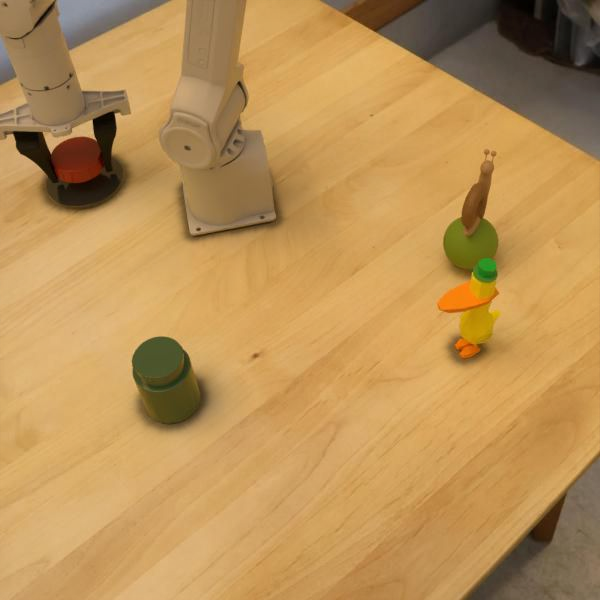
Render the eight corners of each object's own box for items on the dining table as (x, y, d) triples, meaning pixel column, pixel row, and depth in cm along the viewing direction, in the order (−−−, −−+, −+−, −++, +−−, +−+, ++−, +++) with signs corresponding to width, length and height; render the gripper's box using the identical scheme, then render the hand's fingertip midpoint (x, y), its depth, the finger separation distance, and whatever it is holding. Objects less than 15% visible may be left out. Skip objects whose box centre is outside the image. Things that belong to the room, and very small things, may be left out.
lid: (69, 145, 100) (64, 132, 98) (113, 153, 98) (109, 140, 97) (46, 179, 96) (41, 166, 95) (92, 187, 95) (87, 174, 93)
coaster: (121, 149, 102) (120, 146, 102) (126, 201, 97) (125, 198, 96) (46, 163, 102) (45, 159, 101) (47, 216, 96) (45, 212, 96)
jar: (196, 371, 82) (183, 326, 76) (204, 416, 78) (191, 374, 73) (142, 383, 81) (125, 339, 76) (148, 429, 78) (131, 387, 72)
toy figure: (442, 375, 79) (451, 295, 70) (425, 347, 81) (431, 265, 72) (506, 351, 81) (524, 268, 71) (487, 323, 83) (502, 240, 73)
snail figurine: (504, 242, 89) (519, 155, 80) (486, 286, 85) (499, 201, 76) (454, 228, 91) (463, 142, 81) (434, 271, 87) (441, 186, 78)
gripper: (-26, 111, 84) (19, 208, 95) (120, 83, 85) (148, 182, 96) (-25, 69, 88) (18, 166, 99) (114, 43, 90) (141, 141, 100)
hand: (81, 171), depth 98 cm, fingers closed on lid, 5 cm apart
